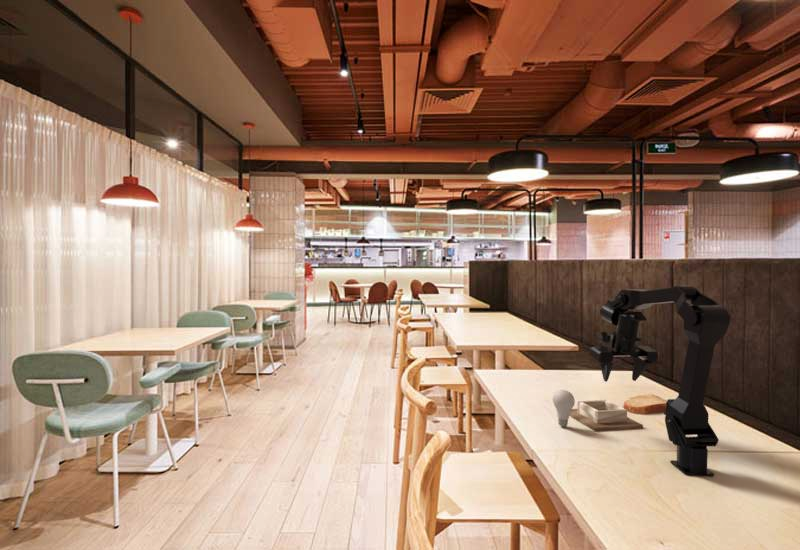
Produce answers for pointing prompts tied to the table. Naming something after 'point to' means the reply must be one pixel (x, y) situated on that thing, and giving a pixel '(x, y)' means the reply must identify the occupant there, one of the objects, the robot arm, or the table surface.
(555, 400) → the lightbulb
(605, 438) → the table surface
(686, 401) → the robot arm
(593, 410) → the socket board
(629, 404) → the slice of bread
